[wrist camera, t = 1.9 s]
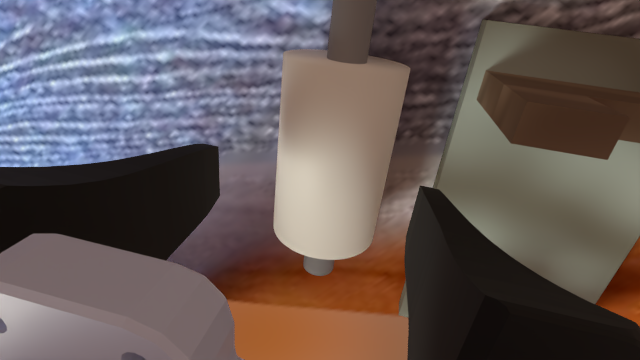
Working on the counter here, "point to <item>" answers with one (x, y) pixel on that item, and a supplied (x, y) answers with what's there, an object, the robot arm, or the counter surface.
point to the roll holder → (549, 151)
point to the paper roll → (336, 140)
